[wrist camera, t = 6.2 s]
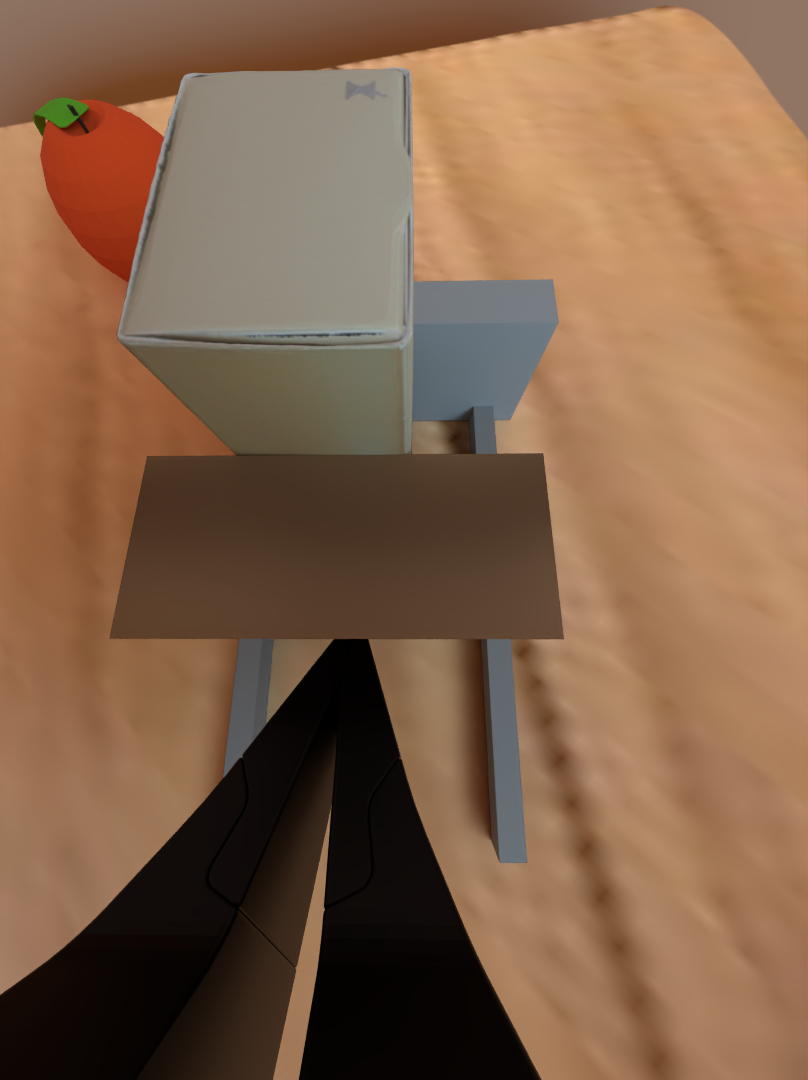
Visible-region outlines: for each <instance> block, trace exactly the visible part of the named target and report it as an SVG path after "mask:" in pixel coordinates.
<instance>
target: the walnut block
mask: <svg viewBox="0 0 808 1080" xmlns="http://www.w3.org/2000/svg"><path fill="white" fill-rule="evenodd" d="M109 639H564V636H563V627H562V618H561V609H560V600H559V591H558V582H557V573H556V564H555V555H554V546H553V537H552V528H551V519H550V510H549V501H548V492H547V483H546V474H545V465H544V456H543V453H535V454H395V455H254V456H147V460H146V465H145V470H144V474H143V479H142V484H141V489H140V494H139V498H138V503H137V508H136V513H135V518H134V523H133V527H132V532H131V537H130V542H129V547H128V551H127V556H126V561H125V566H124V571H123V576H122V580H121V585H120V590H119V595H118V600H117V604H116V609H115V614H114V619H113V624H112V629H111V633H110V638H109Z"/></svg>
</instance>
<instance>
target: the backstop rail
mask: <svg viewBox="0 0 808 1080" xmlns="http://www.w3.org/2000/svg"><path fill="white" fill-rule="evenodd" d="M558 323H559V321H558V314H557V307H556V299H555V292H554V285H553V280H488V281H422V282H414V321H413V412H412V421H434V420H469V423H470V442H471V454H497V449H496V436H495V422H494V420H510V419H511V417H512V415H513V413H514V411H515V409H516V407H517V405H518V403H519V401H520V399H521V397H522V395H523V393H524V391H525V389H526V387H527V385H528V383H529V381H530V379H531V377H532V375H533V373H534V371H535V369H536V367H537V365H538V363H539V361H540V359H541V357H542V355H543V353H544V351H545V349H546V347H547V345H548V343H549V341H550V339H551V337H552V335H553V333H554V331H555V329H556V327H557V325H558ZM272 648H273V639H239V644H238V653H237V662H236V670H235V679H234V687H233V696H232V705H231V713H230V722H229V730H228V739H227V748H226V756H225V765H224V773H223V778H224V777H225V775H226V774H227V773H228V772H229V770H230V769H231V768H232V767H233V765H234V764H235V763H236V761H237V760H238V759H239V758H242V754H243V753H244V752H245V750H246V749H247V748H248V747H249V745H250V744H251V743H252V742H253V740H254V739H255V738H256V737H257V735H258V734H259V733H260V732H261V730H262V729H263V728H264V727H265V724H266V713H267V702H268V691H269V680H270V670H271V659H272ZM481 649H482V667H483V686H484V705H485V724H486V743H487V761H488V780H489V799H490V818H491V837H492V843H493V846H494V849H495V851H496V854H497V857H498V859H499V862H500V863H527V855H526V842H525V828H524V814H523V801H522V787H521V774H520V760H519V747H518V733H517V720H516V706H515V693H514V679H513V666H512V652H511V639H481Z"/></svg>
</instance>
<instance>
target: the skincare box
mask: <svg viewBox="0 0 808 1080" xmlns="http://www.w3.org/2000/svg"><path fill="white" fill-rule="evenodd" d="M413 321H414V231H413V142H412V84H411V73H410V71H409V70H408V69H405V68H387V69H377V70H365V69H352V70H322V71H304V70H302V71H259V72H253V71H242V72H226V73H212V74H203V73H190V74H187V75H185V76H184V77H183V79H182V81H181V85H180V89H179V92H178V95H177V97H176V99H175V104H174V106H173V110H172V114H171V116H170V118H169V121H168V127H167V129H166V132H165V136H164V141H163V143H162V145H161V151H160V155H159V158H158V161H157V165H156V171H155V175H154V178H153V181H152V184H151V188H150V192H149V197H148V201H147V205H146V209H145V213H144V217H143V222H142V226H141V230H140V232H139V239H138V243H137V246H136V250H135V254H134V258H133V263H132V269H131V274H130V279H129V282H128V286H127V292H126V298H125V302H124V307H123V311H122V315H121V319H120V323H119V327H118V331H117V338H118V340H119V341H120V343H121V344H123V345H124V346H125V347H126V348H127V349H128V350H129V351H130V352H131V353H132V354H133V355H134V356H135V357H136V358H137V359H138V360H139V361H140V362H141V363H142V364H143V365H144V366H145V367H146V368H147V369H148V370H149V371H150V372H151V373H152V374H154V375H155V376H156V377H157V378H158V379H159V380H160V381H161V382H162V383H163V384H164V385H165V386H166V387H167V388H168V389H169V390H170V391H171V392H172V393H173V394H174V395H175V396H176V397H177V398H178V399H179V400H180V401H181V402H182V403H183V404H184V405H185V406H186V407H187V408H188V409H189V410H190V411H191V412H193V413H194V414H195V415H196V416H197V417H198V418H199V419H200V420H201V421H202V422H203V423H204V424H205V425H206V426H207V427H208V428H209V429H210V430H211V431H212V432H213V433H214V434H215V435H216V436H217V437H218V438H219V439H220V440H221V441H222V442H223V443H224V444H226V445H227V446H228V447H229V448H230V449H231V450H232V451H233V452H234V453H235V454H236V455H237V456H254V455H395V454H412V412H413Z"/></svg>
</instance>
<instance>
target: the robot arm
mask: <svg viewBox="0 0 808 1080" xmlns="http://www.w3.org/2000/svg"><path fill="white" fill-rule="evenodd" d="M331 805H332V808H331ZM330 809H331V821H330V834H329V847H328V860H327V873H326V886H325V899H324V908H325V911H324V914H323V925H322V936H321V945H320V953H319V962H318V969H317V976H316V982H315V988H314V994H313V999H312V1005H311V1011H310V1017H309V1023H308V1029H307V1035H306V1041H305V1046H304V1052H303V1058H302V1064H301V1070H300V1076H299V1080H541V1078H540V1076H539V1074H538V1072H537V1070H536V1068H535V1066H534V1065H533V1063H532V1061H531V1059H530V1057H529V1055H528V1053H527V1051H526V1049H525V1047H524V1045H523V1043H522V1042H521V1040H520V1038H519V1036H518V1034H517V1032H516V1030H515V1028H514V1026H513V1024H512V1022H511V1020H510V1019H509V1017H508V1015H507V1013H506V1011H505V1009H504V1007H503V1005H502V1003H501V1001H500V999H499V997H498V995H497V994H496V992H495V990H494V988H493V986H492V984H491V982H490V980H489V978H488V976H487V974H486V972H485V970H484V968H483V966H482V964H481V962H480V960H479V958H478V956H477V954H476V951H475V949H474V947H473V945H472V943H471V940H470V938H469V936H468V934H467V931H466V929H465V927H464V924H463V922H462V920H461V917H460V915H459V913H458V910H457V908H456V905H455V903H454V900H453V898H452V895H451V893H450V891H449V888H448V886H447V883H446V881H445V878H444V876H443V874H442V871H441V869H440V866H439V864H438V861H437V859H436V856H435V854H434V852H433V849H432V847H431V844H430V842H429V839H428V837H427V834H426V832H425V829H424V827H423V824H422V821H421V819H420V816H419V813H418V811H417V808H416V805H415V802H414V799H413V796H412V793H411V790H410V786H409V783H408V780H407V777H406V773H405V769H404V766H403V762H402V760H401V756H400V752H399V748H398V745H397V741H396V738H395V734H394V730H393V727H392V723H391V720H390V716H389V712H388V709H387V705H386V701H385V698H384V694H383V691H382V687H381V683H380V680H379V676H378V673H377V669H376V665H375V662H374V658H373V655H372V651H371V647H370V644H369V640H368V639H334V640H333V641H332V642H331V644H330V645H329V646H328V647H327V649H326V650H325V651H324V652H323V654H322V655H321V656H320V657H319V659H318V660H317V661H316V662H315V664H314V665H313V666H312V667H311V669H310V670H309V671H308V672H307V674H306V675H305V676H304V678H303V679H302V680H301V681H300V683H299V684H298V685H297V686H296V688H295V689H294V690H293V691H292V693H291V694H290V695H289V696H288V698H287V699H286V700H285V701H284V703H283V704H282V705H281V706H280V708H279V709H278V710H277V711H276V713H275V714H274V715H273V716H272V718H271V719H270V720H269V722H268V723H267V724H266V725H265V727H264V728H263V729H262V730H261V732H260V733H259V734H258V735H257V737H256V738H255V739H254V740H253V742H252V743H251V744H250V745H249V747H248V748H247V749H246V750H245V752H244V753H243V754H242V758H239V759H238V760H237V761H236V763H235V764H234V765H233V767H232V768H231V769H230V770H229V772H228V773H227V774H226V775H225V777H224V778H223V779H222V780H221V781H220V783H219V784H218V785H217V786H216V787H215V789H214V790H213V791H212V792H211V793H210V795H209V796H208V797H207V798H206V799H205V801H204V802H203V803H202V804H201V805H200V806H199V807H198V808H197V809H196V811H195V812H194V813H193V814H192V815H191V816H190V817H189V818H188V819H187V821H186V822H185V823H184V824H183V825H182V826H181V827H180V828H179V829H178V831H177V832H176V833H175V834H174V835H173V836H172V837H171V838H170V839H169V840H168V841H167V842H166V843H165V845H164V846H163V847H162V848H161V849H160V850H159V851H158V852H157V853H156V854H155V855H154V856H153V857H152V859H151V860H150V861H149V862H148V863H147V864H146V865H145V866H144V867H143V868H142V869H141V870H140V871H139V872H138V874H137V875H136V876H135V877H134V878H133V879H132V880H131V881H130V882H129V883H128V884H127V885H126V886H125V888H124V889H123V890H122V891H121V892H120V893H119V894H118V895H117V896H116V897H115V898H114V899H113V900H112V901H111V903H110V904H109V905H108V906H107V907H106V908H105V909H104V910H103V911H102V912H101V913H100V914H99V915H98V916H97V917H96V918H95V919H94V920H93V921H92V922H91V923H90V924H89V925H88V926H87V927H86V928H85V929H84V930H83V931H82V932H81V933H80V934H78V935H77V936H76V937H75V938H74V939H73V940H72V941H70V942H69V943H68V944H67V945H66V946H65V947H64V948H62V949H61V950H60V951H59V952H57V953H56V954H55V955H54V956H53V957H51V958H50V959H49V960H48V961H46V962H45V963H44V964H42V965H41V966H40V967H38V968H37V969H36V970H34V971H33V972H31V973H30V974H29V975H27V976H26V977H24V978H23V979H22V980H20V981H19V982H17V983H16V984H15V985H13V986H12V987H11V988H9V989H8V990H6V991H5V992H4V993H2V994H1V995H0V1080H273V1076H274V1071H275V1067H276V1062H277V1057H278V1053H279V1048H280V1043H281V1039H282V1034H283V1029H284V1025H285V1020H286V1015H287V1011H288V1006H289V1001H290V997H291V992H292V987H293V983H294V978H295V973H296V968H295V967H296V966H297V964H298V959H299V954H300V949H301V945H302V940H303V935H304V931H305V926H306V921H307V917H308V912H309V907H310V903H311V898H312V893H313V889H314V884H315V879H316V875H317V870H318V865H319V861H320V856H321V851H322V847H323V842H324V837H325V833H326V828H327V823H328V819H329V814H330Z"/></svg>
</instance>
